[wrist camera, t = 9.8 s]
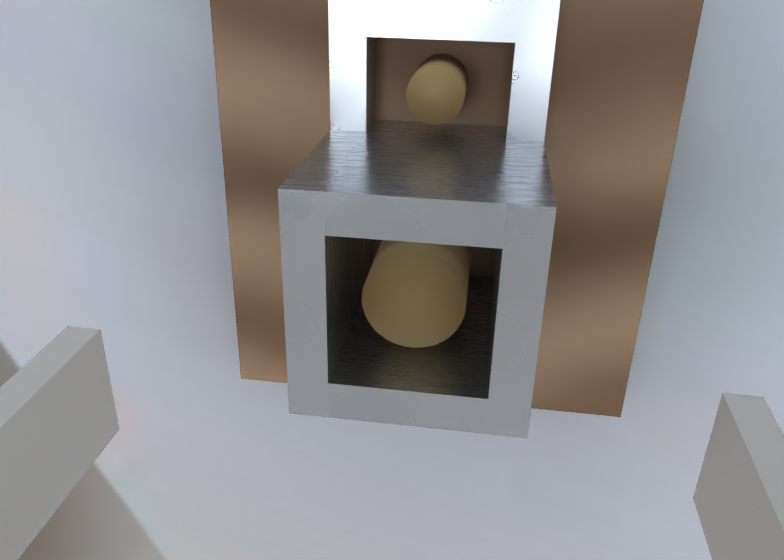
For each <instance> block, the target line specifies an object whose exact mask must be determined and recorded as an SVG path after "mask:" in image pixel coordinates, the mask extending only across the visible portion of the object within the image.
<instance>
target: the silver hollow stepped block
mask: <svg viewBox="0 0 784 560" xmlns="http://www.w3.org/2000/svg"><path fill="white" fill-rule="evenodd" d="M559 8H560V0H328V15H329V73H330V131H329V132H328V133H327V134H326V135H325V137H324V138H323V139H322V140H321V141H320V142H319V143H318V144H317V145H316V147H315V148H314V149H313V150H312V151H311V152H310V153H309V154H308V155H307V157H306V158H305V159H304V160H303V161H302V162H301V163H300V164H299V165H298V167H297V168H296V169H295V170H294V171H293V172H292V173H291V174H290V175H289V177H288V178H287V179H286V180H285V181H284V182H283V183H282V184H281V185H280V187H279V188H278V205H279V224H280V243H281V263H282V282H283V301H284V321H285V340H286V359H287V379H288V398H289V413H293V414H303V415H312V416H322V417H331V418H341V419H351V420H360V421H370V422H379V423H389V424H399V425H408V426H418V427H427V428H437V429H446V430H456V431H466V432H475V433H485V434H494V435H504V436H514V437H523V438H527V435H528V427H529V419H530V411H531V404H532V396H533V388H534V380H535V372H536V365H537V357H538V349H539V341H540V333H541V326H542V318H543V310H544V302H545V294H546V287H547V279H548V271H549V263H550V255H551V248H552V240H553V232H554V224H555V216H556V209H557V206H556V201H555V196H554V191H553V185H552V180H551V175H550V170H549V165H548V160H547V154H546V149H545V144H544V138H545V129H546V121H547V112H548V103H549V95H550V86H551V77H552V69H553V60H554V51H555V43H556V34H557V25H558V17H559ZM376 37H386V38H411V39H436V40H461V41H486V42H511V43H514V47H513V58H512V69H511V80H510V91H509V102H508V113H507V124H506V126H489V125H470V124H451V123H444V124H439V125H431V124H427V123H424V122H414V121H396V120H377V119H375V55H376ZM374 239H377V240H391V241H404V242H418V243H432V244H445V245H459V246H472V247H486V248H495V256H494V267H493V278H490V277H478V276H469V282H468V291H467V301H466V309H465V315H464V318H463V320H462V322H461V324H460V326H459V327H458V329H457V330H456V331H455V332H454V333H453V334H452V335H451V336H450V337H449V338H447V339H446V340H444V341H443V342H440V343H438V344H436V345H433V346H429V347H422V348H411V347H405V346H401V345H398V344H395V343H393V342H391V341H389V340H387V339H385V338H384V337H382V336H381V335H380V334H379V333H378V332H376V331H375V329H374V328H373V327H372V326H371V324H370V323H369V322H368V320H367V318H366V316H365V313H364V310H363V306H362V291H363V287H364V284H365V281H366V279H367V276H368V274H369V271H370V269H371V266H372V264H373V256H374Z"/></svg>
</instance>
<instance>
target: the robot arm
mask: <svg viewBox="0 0 784 560" xmlns="http://www.w3.org/2000/svg"><path fill="white" fill-rule="evenodd" d="M118 430H119V425H118V419H117V414H116V409H115V404H114V398H113V393H112V388H111V382H110V377H109V372H108V367H107V361H106V356H105V351H104V345H103V340H102V335H101V330H100V329H92V328H82V327H72V326H68V327H67V328H66V329H64V330H63V331H62V332H61V333H60V334H59V335H58V336H57V337H56V338H54V339H53V340H52V341H51V342H50V343H49V344H48V345H47V346H46V347H45V348H43V349H42V350H41V351H40V352H39V353H38V354H37V355H36V356H35V357H33V358H32V359H31V360H30V361H29V362H28V363H27V364H26V365H25V366H24V367H22V368H21V369H20V370H19V371H18V372H17V373H16V374H15V375H14V376H13V377H11V378H10V379H9V380H8V381H7V382H6V383H5V384H4V385H3V386H2V387H0V560H18V558H19V557H20V556H21V555H22V553H23V552H24V551H25V549H26V548H27V547H28V546H29V544H30V543H31V542H32V540H33V539H34V538H35V537H36V535H37V534H38V533H39V532H40V530H41V529H42V528H43V526H44V525H45V524H46V523H47V521H48V520H49V519H50V517H51V516H52V515H53V514H54V512H55V511H56V510H57V508H58V507H59V506H60V505H61V503H62V502H63V501H64V499H65V498H66V497H67V495H68V494H69V493H70V492H71V490H72V489H73V488H74V486H75V485H76V484H77V483H78V481H79V480H80V479H81V477H82V476H83V475H84V474H85V472H86V471H87V470H88V468H89V467H90V466H91V465H92V464H93V462H94V461H95V460H96V458H97V457H98V456H99V455H100V453H101V452H102V451H103V449H104V448H105V447H106V446H107V444H108V443H109V442H110V440H111V439H112V438H113V437H114V435H115V434H116V433H117V431H118ZM693 499H694V502H695V506H696V509H697V512H698V515H699V518H700V522H701V525H702V528H703V531H704V534H705V538H706V541H707V544H708V547H709V551H710V554H711V557H712V560H784V435H783V433H782V431H781V429H780V427H779V426H778V424H777V422H776V420H775V418H774V416H773V414H772V412H771V410H770V408H769V407H768V405H767V403H766V401H765V399H764V397H759V396H749V395H740V394H730V393H722V397H721V400H720V404H719V408H718V411H717V415H716V418H715V422H714V425H713V429H712V433H711V436H710V440H709V443H708V447H707V450H706V454H705V458H704V461H703V465H702V468H701V472H700V475H699V479H698V483H697V486H696V490H695V493H694V497H693Z"/></svg>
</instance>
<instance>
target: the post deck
mask: <svg viewBox="0 0 784 560" xmlns="http://www.w3.org/2000/svg"><path fill="white" fill-rule="evenodd" d="M703 1H704V0H560V8H559V17H558V25H557V34H556V43H555V51H554V60H553V69H552V77H551V86H550V95H549V103H548V112H547V121H546V129H545V138H544V144H545V149H546V154H547V160H548V165H549V170H550V175H551V180H552V185H553V191H554V196H555V201H556V206H557V209H556V216H555V224H554V232H553V240H552V248H551V255H550V263H549V271H548V279H547V287H546V294H545V302H544V310H543V318H542V326H541V333H540V341H539V349H538V357H537V365H536V372H535V380H534V388H533V396H532V404H531V408H537V409H547V410H557V411H566V412H576V413H586V414H596V415H606V416H616V417H620V416H621V411H622V406H623V401H624V396H625V391H626V386H627V381H628V376H629V371H630V366H631V361H632V356H633V351H634V346H635V341H636V336H637V331H638V326H639V321H640V316H641V311H642V306H643V301H644V296H645V291H646V286H647V281H648V276H649V271H650V266H651V261H652V256H653V251H654V246H655V241H656V236H657V231H658V226H659V221H660V216H661V211H662V206H663V201H664V196H665V191H666V186H667V181H668V176H669V171H670V166H671V161H672V156H673V151H674V146H675V141H676V136H677V131H678V126H679V121H680V116H681V111H682V106H683V101H684V96H685V91H686V86H687V81H688V76H689V71H690V66H691V61H692V56H693V51H694V46H695V41H696V36H697V31H698V26H699V21H700V16H701V11H702V6H703ZM210 6H211V19H212V31H213V43H214V55H215V67H216V79H217V92H218V104H219V116H220V128H221V140H222V152H223V165H224V177H225V189H226V201H227V213H228V225H229V238H230V250H231V262H232V274H233V286H234V298H235V311H236V323H237V335H238V347H239V359H240V371H241V378H242V379H252V380H262V381H272V382H281V383H288V379H287V359H286V340H285V321H284V301H283V282H282V263H281V243H280V224H279V205H278V188H279V187H280V185H281V184H282V183H283V182H284V181H285V180H286V179H287V178H288V177H289V175H290V174H291V173H292V172H293V171H294V170H295V169H296V168H297V167H298V165H299V164H300V163H301V162H302V161H303V160H304V159H305V158H306V157H307V155H308V154H309V153H310V152H311V151H312V150H313V149H314V148H315V147H316V145H317V144H318V143H319V142H320V141H321V140H322V139H323V138H324V137H325V135H326V134H327V133H328V132H329V131H330V73H329V15H328V0H210ZM513 47H514V43H511V42H486V41H461V40H436V39H411V38H386V37H376V55H375V119H377V120H396V121H414V122H424V123H427V124H431V125H439V124H444V123H451V124H470V125H489V126H506V124H507V113H508V102H509V91H510V80H511V69H512V58H513ZM494 256H495V248H486V247H472V246H459V245H445V244H432V243H418V242H404V241H391V240H377V239H374V256H373V264H372V266H371V269H370V271H369V274H368V276H367V279H366V281H365V284H364V287H363V291H362V306H363V310H364V313H365V316H366V318H367V320H368V322H369V323H370V324H371V326H372V327H373V328H374V329H375V331H376V332H378V333H379V334H380V335H381V336H382V337H384V338H385V339H387V340H389V341H391V342H393V343H395V344H398V345H401V346H405V347H411V348H422V347H429V346H433V345H436V344H438V343H440V342H443V341H444V340H446V339H447V338H449V337H450V336H451V335H452V334H453V333H454V332H455V331H456V330H457V329H458V327H459V326H460V324H461V322H462V320H463V318H464V315H465V309H466V301H467V291H468V282H469V276H478V277H490V278H493V267H494Z"/></svg>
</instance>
